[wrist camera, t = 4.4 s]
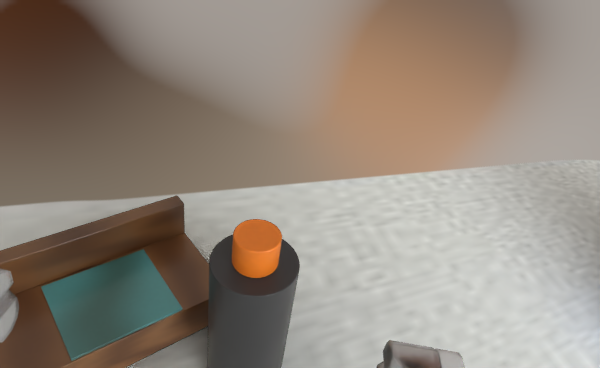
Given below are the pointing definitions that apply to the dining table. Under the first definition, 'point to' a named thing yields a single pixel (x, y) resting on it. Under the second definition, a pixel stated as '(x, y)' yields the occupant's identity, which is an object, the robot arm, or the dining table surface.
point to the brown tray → (106, 291)
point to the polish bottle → (250, 297)
